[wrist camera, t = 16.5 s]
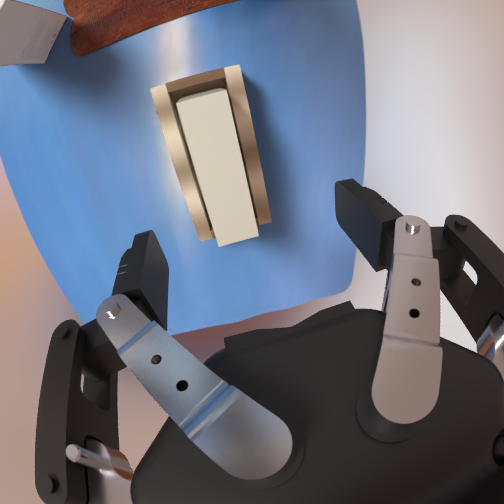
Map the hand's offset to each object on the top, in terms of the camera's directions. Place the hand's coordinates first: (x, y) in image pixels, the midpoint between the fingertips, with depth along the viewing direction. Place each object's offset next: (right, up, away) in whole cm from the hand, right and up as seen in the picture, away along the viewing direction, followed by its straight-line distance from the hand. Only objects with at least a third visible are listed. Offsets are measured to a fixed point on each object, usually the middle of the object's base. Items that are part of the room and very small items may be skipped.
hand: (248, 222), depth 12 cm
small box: (-25, +24, +4) cm, 35 cm away
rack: (-4, +10, +18) cm, 22 cm away
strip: (-4, +10, +18) cm, 21 cm away
